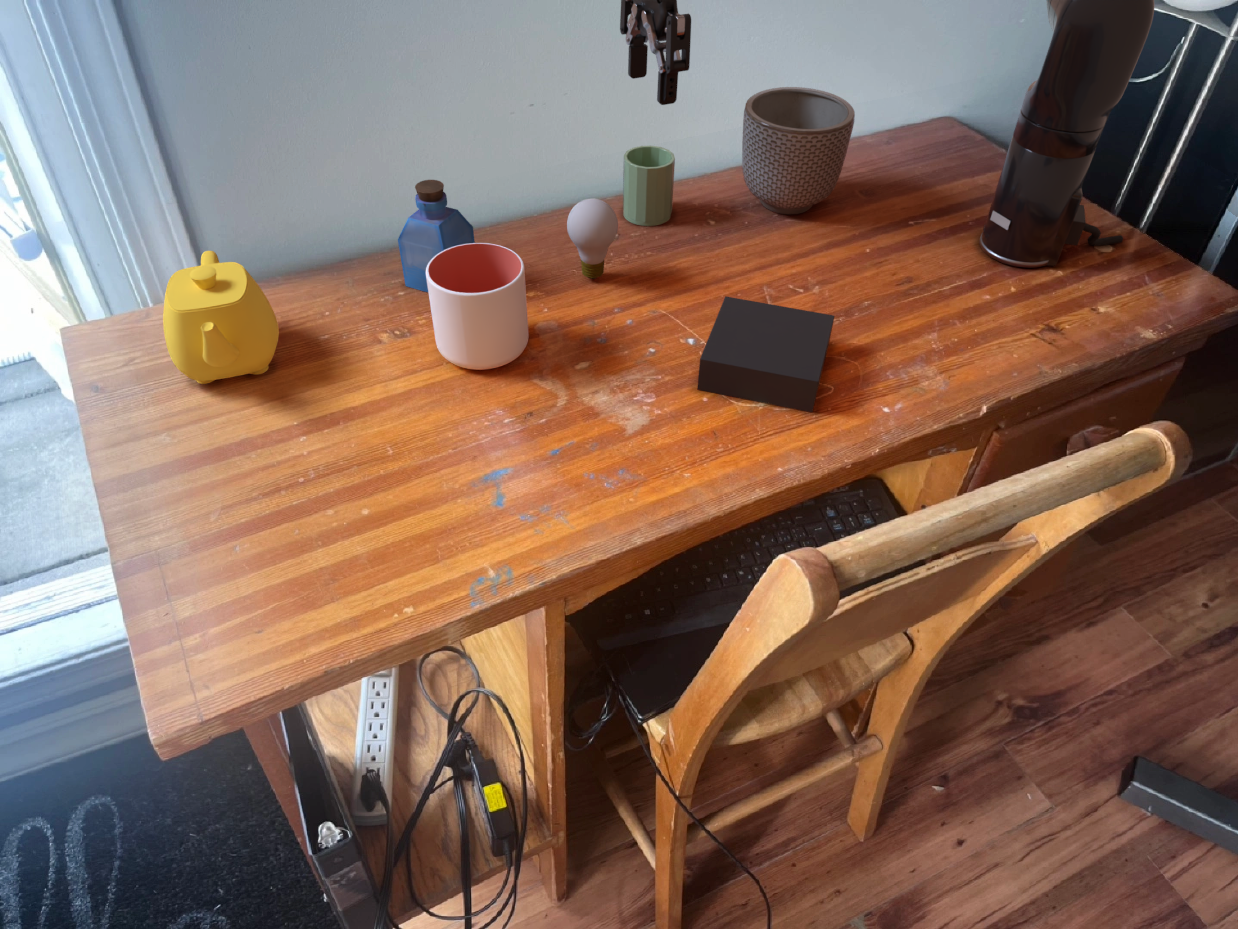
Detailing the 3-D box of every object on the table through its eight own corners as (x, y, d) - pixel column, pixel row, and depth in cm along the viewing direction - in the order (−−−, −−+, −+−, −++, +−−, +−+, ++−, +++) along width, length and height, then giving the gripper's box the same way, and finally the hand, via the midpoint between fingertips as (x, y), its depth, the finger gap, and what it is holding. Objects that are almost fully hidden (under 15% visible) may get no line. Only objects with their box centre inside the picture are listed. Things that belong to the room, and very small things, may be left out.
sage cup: (676, 206, 126) (680, 149, 121) (664, 229, 122) (667, 171, 116) (630, 199, 128) (632, 142, 122) (617, 221, 123) (617, 163, 118)
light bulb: (627, 277, 113) (629, 201, 107) (593, 297, 110) (592, 219, 103) (592, 259, 116) (591, 183, 109) (558, 277, 113) (555, 201, 106)
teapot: (291, 403, 95) (265, 315, 88) (176, 425, 93) (139, 336, 85) (279, 307, 108) (256, 223, 100) (177, 324, 105) (145, 238, 98)
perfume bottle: (477, 273, 114) (468, 180, 105) (450, 298, 110) (437, 204, 101) (434, 261, 116) (421, 168, 107) (405, 286, 111) (389, 192, 103)
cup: (514, 381, 99) (508, 300, 92) (423, 368, 100) (410, 287, 93) (539, 327, 106) (535, 248, 99) (454, 315, 107) (444, 237, 100)
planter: (728, 220, 124) (738, 124, 115) (741, 173, 134) (751, 81, 125) (834, 234, 122) (853, 137, 113) (840, 184, 131) (857, 91, 123)
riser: (828, 345, 104) (834, 315, 101) (812, 412, 96) (818, 381, 93) (722, 326, 106) (725, 295, 104) (697, 389, 98) (699, 358, 95)
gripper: (718, -45, 99) (706, 107, 110) (661, -80, 108) (655, 64, 119) (653, -38, 96) (647, 117, 108) (600, -74, 106) (600, 72, 117)
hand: (651, 89), depth 113 cm, fingers open, 8 cm apart
